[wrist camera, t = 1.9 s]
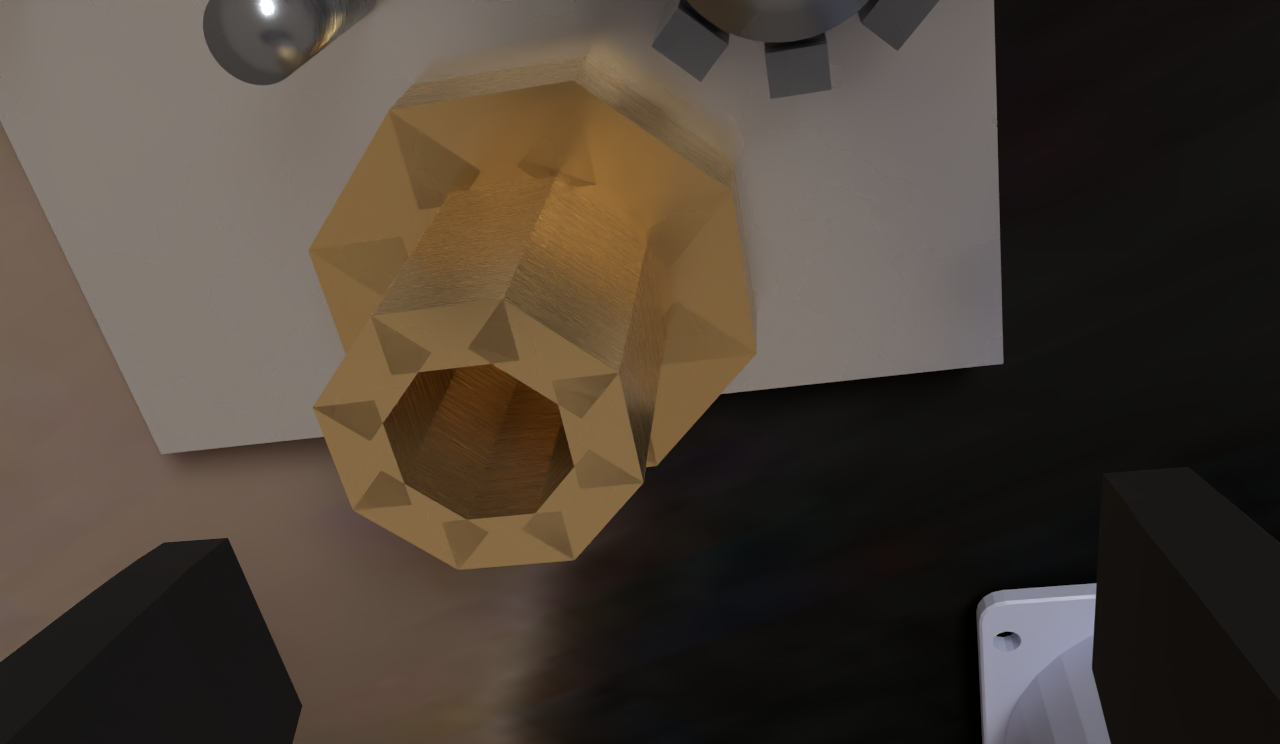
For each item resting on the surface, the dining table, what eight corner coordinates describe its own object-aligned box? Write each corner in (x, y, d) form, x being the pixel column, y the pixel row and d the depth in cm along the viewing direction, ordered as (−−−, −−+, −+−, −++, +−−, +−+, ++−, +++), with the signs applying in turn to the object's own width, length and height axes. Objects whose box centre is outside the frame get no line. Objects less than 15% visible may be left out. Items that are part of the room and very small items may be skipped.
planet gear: (771, 413, 19) (774, 622, 15) (414, 451, 20) (319, 654, 16) (714, 35, 16) (697, 158, 11) (294, 104, 17) (134, 239, 12)
